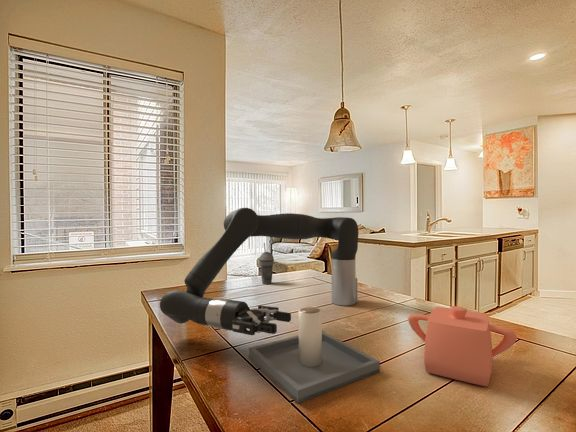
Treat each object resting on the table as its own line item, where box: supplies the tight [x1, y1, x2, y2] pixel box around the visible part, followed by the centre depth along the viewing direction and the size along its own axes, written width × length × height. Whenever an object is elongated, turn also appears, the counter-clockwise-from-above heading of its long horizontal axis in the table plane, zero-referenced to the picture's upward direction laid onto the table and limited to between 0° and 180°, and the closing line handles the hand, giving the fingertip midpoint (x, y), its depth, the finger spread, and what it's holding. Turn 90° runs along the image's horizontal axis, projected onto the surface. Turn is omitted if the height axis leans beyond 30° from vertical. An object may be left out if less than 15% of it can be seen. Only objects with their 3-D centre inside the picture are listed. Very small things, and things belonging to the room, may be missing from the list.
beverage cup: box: [258, 242, 275, 285], centre depth 158 cm, size 7×7×20 cm
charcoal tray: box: [248, 330, 381, 405], centre depth 76 cm, size 22×22×2 cm
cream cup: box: [297, 306, 323, 367], centre depth 76 cm, size 6×6×12 cm
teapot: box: [407, 305, 518, 387], centre depth 76 cm, size 20×22×14 cm
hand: (283, 323), depth 78 cm, fingers open, 8 cm apart
